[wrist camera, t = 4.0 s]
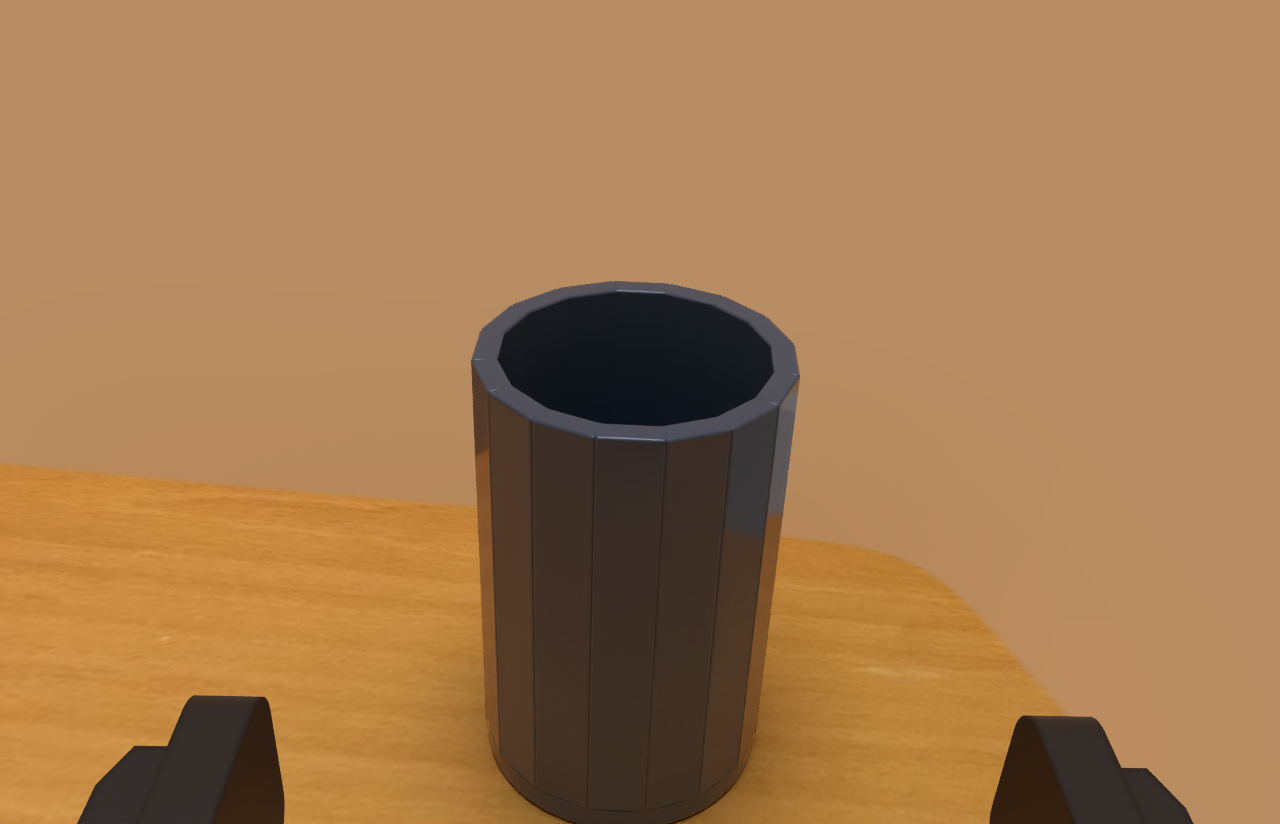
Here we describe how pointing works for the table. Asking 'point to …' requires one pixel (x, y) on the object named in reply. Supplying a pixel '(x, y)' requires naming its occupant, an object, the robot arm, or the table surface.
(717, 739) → the cup
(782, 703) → the table surface
